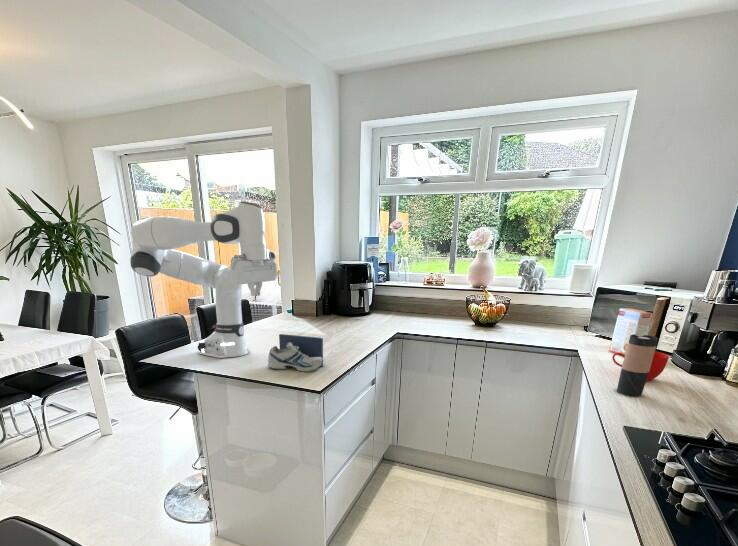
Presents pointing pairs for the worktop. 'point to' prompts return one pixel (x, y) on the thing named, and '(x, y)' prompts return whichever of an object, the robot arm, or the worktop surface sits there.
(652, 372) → the ceramic cup
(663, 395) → the worktop surface
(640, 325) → the cracker box
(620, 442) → the worktop surface
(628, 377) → the travel mug
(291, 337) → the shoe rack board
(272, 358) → the athletic shoe
